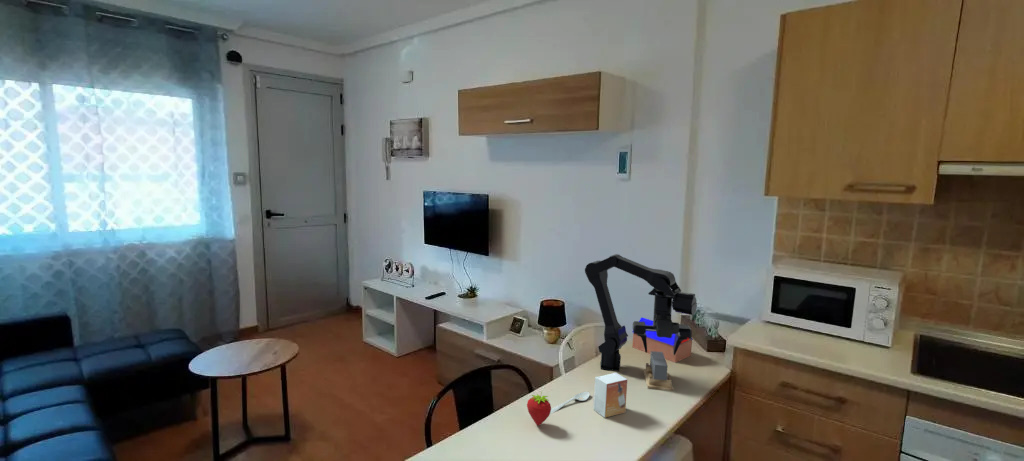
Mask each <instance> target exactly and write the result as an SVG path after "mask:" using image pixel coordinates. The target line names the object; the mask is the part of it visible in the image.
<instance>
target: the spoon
mask: <svg viewBox="0 0 1024 461" xmlns="http://www.w3.org/2000/svg"><path fill="white" fill-rule="evenodd" d="M589 397H590V392H589V391H582V392H580V393H577V394H575V395H573V397H571V398H569V399H568V400H565V402H564V401H563V402H562V403H560V404H558V405H555V406H554V407H551V412H550V414H553V413H555V412H557V411H559V410H560V409H561V408H562V407H564V406H565V405H566V404H568V403H570V402H572V401H574V400H577V401H580V402H581V401H582V402H585V401H587V400H588V399H589ZM580 398H581V399H580Z"/></svg>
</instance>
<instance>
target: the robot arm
mask: <svg viewBox="0 0 1024 461" xmlns="http://www.w3.org/2000/svg"><path fill="white" fill-rule="evenodd" d="M612 268H617V269H618V270H621V271H623V272H625V273H628V274H630V275H633V276H635V277H637V278H639V279H642V280H643V281H645V282H647V283H648V284H649V286H651V287H653V288H652V289H651V291H649V292H647V293H648V295H650V296H654V298H653V299H654V301H653V302H654V303H653V318H652V321H653V326H652V325H645V322H639V321H640V320H639V321H636V320H635V321H633V322H632V331H633V332H632V334H633V333H634V334H637V336H640V337H641V339H642V341H643V344H644V348H645V352H644V353H646V354H648V353H647V340H646V337H647V336H646V331H655V332H656V333H657V336H658V337H667V338H671V337H672V334H675V340H674V348H673V354H674V355H675V354H676V352H677V350H678V347H679V345H680V344H681V342H682V341H683V340H687V338H693V337H692V336H693V330H692V329H691V327H690V326H689V325H688V324H681V323H679V322H673V321H672V310H673V311H675V313H678V314H679V313H680V314H685V315H690V316H695V314H696V311H697V306H698V304H697V298H696V294H695V293H691V292H688V293H687V292H682V289H681V288H680V285H678V283H677V281H676V277H675V275H674V273H672V272H671V271H668V270H663V269H658V268H657V269H656V268H652V267H649V266H645V265H643V264H641V263H639V262H636V261H634V260H631V259H628V257H627V258H626V257H623V256H622V255H620V254H619V253H615V254H613V255H610V256H608V257H607V258H605V259H602V260H596V261H593V262H589V263H588V264H586V266H585V267H584V273H585V276H586V278H587V280H588V282H589V283H590V284H591V286H593V289H594V291H595V295H596V298H597V303H598V305H599V309H600V313H601V316H602V319H603V324H604V333H603V336H604V337H603V338H604V342H603V343H601V344H600V345H599V346H597V348H598V351H599V353H601V354H600V357H601V358H600V364H599V366H600V369H601V370H607V371H620V367H621V358H622V355H621V353H620V350H621V349H622V347H623V346H625V345H626V344H627V342H628V337H629V335H628V333H627V330H626V325H621V324H620V322H619V321H618V319H617V315H616V311H615V308H614V305H613V304H614V303H613V300H612V298H611V294H610V290H609V287H608V278H609V274H608V271H609V270H610V269H612Z"/></svg>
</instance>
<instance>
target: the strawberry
mask: <svg viewBox="0 0 1024 461" xmlns="http://www.w3.org/2000/svg"><path fill="white" fill-rule="evenodd" d="M542 392H543V391H541V393H540V395H539V394H537V393H536V395H534V394H532V395H531V396H532V397H530V398H529V399H528V400H527V404H526V407H527V412H528V414H529V415H530V418H531V419H532V420H533V422H534V423H535V425H536V426H541V425H542V424H543V423H544V422H545V421H546V420H547V419H548V418H549V417H550V414H551V413H550V412H551V409H552V405H551V403H550V402H549V401H550V400H549V399H548V397H549V395H542V394H543V393H542Z"/></svg>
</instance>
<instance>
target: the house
mask: <svg viewBox="0 0 1024 461" xmlns="http://www.w3.org/2000/svg"><path fill="white" fill-rule="evenodd" d="M639 322H645V325H652V326H653V319H652V320H651V319H649V318H646V317H643V316H642V317H640V319H639ZM646 336H647V337H646V340H647V353H646V352H645V348H644V344H643V341H642V339H641V337H640V336H637V334H634V333H633V330H632V348H634V349H637V350H638V351H641V352H644V353H646V354H649V355H651V351H654V352H663V355H664V357H665V360H666V361H669V362H672V363H678V362H680V361H682V360H684V359H687V358H689V357H691V356H692V347H693V346H692V345H693V340H694V339H693V337H691V338H687V340H683V341H682V342H681V344H680V345H679V347H678V350H677V352H676V354H675V355H674V354H673V348H674V340H675V334H672V337H671V338H667V337H658V336H657V333H656V332H655V331H646Z"/></svg>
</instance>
